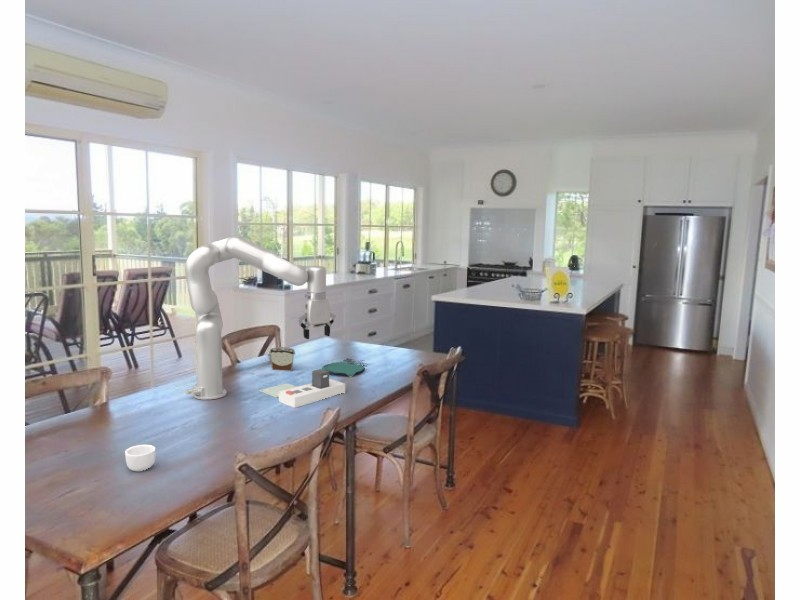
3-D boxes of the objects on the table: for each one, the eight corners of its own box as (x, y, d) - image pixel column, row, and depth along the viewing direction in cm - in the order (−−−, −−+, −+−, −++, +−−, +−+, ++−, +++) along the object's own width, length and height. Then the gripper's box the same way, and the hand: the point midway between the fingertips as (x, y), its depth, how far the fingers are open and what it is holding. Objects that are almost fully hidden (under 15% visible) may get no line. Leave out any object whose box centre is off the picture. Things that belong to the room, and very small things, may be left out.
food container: (298, 367, 263) (298, 347, 261) (294, 371, 257) (294, 350, 255) (273, 366, 264) (273, 346, 262) (269, 369, 258) (269, 349, 256)
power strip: (294, 407, 207) (294, 395, 206) (278, 401, 214) (278, 389, 213) (345, 393, 227) (345, 381, 226) (329, 387, 233) (329, 376, 232)
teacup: (162, 465, 157) (161, 447, 156) (139, 476, 150) (138, 458, 149) (137, 458, 161) (136, 441, 160) (114, 468, 154) (113, 450, 153)
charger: (320, 393, 219) (321, 373, 218) (312, 390, 223) (312, 370, 222) (329, 390, 223) (329, 371, 221) (320, 387, 226) (320, 369, 225)
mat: (276, 398, 218) (276, 396, 218) (259, 391, 226) (259, 390, 226) (304, 390, 228) (304, 389, 228) (286, 384, 236) (286, 383, 236)
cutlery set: (314, 373, 254) (314, 368, 254) (344, 360, 282) (344, 355, 281) (352, 380, 247) (353, 375, 246) (379, 365, 275) (379, 361, 274)
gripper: (302, 298, 215) (302, 341, 218) (339, 295, 226) (339, 336, 229) (293, 296, 221) (293, 338, 224) (330, 293, 232) (330, 333, 234)
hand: (317, 337), depth 226 cm, fingers open, 9 cm apart
